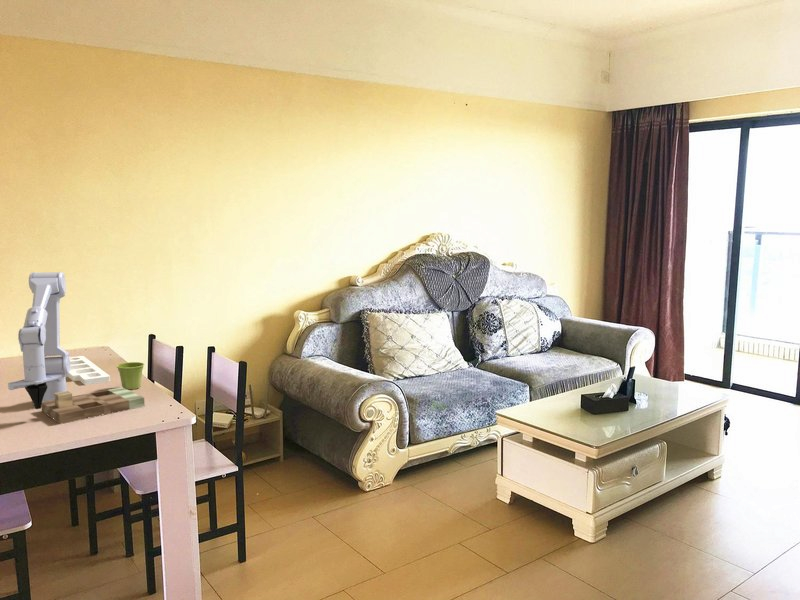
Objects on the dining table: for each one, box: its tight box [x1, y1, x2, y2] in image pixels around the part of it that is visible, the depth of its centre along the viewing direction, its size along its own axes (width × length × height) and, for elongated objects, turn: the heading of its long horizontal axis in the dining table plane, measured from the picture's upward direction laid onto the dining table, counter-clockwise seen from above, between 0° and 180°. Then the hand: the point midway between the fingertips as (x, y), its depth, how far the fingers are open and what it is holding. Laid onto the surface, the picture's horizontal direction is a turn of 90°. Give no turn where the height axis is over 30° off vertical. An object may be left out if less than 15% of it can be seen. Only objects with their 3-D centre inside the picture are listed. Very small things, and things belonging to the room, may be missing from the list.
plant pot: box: [116, 361, 145, 391], centre depth 239 cm, size 9×9×9 cm
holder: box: [65, 355, 111, 386], centre depth 261 cm, size 45×18×3 cm, turn 38°
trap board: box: [41, 386, 146, 424], centre depth 214 cm, size 18×26×3 cm
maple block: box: [54, 390, 73, 408], centre depth 207 cm, size 4×4×4 cm
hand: (37, 408), depth 202 cm, fingers closed
